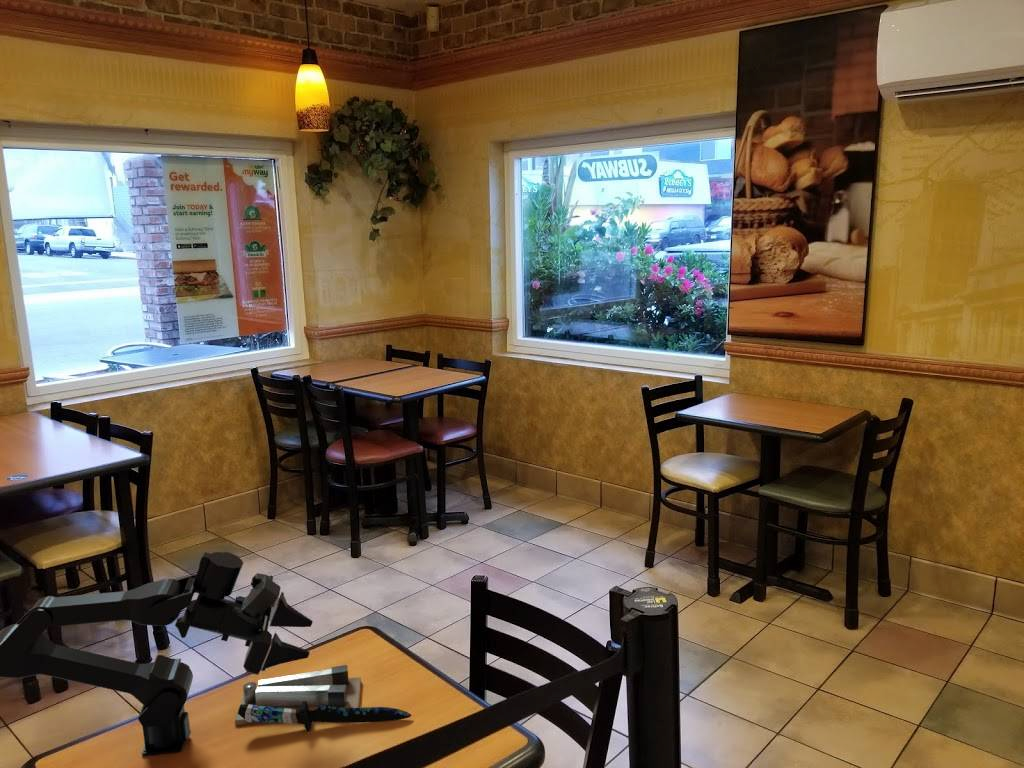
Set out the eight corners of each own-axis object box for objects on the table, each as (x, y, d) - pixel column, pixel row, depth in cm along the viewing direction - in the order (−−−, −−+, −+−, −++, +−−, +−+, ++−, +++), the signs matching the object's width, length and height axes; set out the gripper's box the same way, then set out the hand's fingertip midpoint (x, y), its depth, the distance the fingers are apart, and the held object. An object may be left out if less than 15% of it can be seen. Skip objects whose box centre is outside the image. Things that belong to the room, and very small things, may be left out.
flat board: (235, 725, 140) (234, 720, 139) (245, 692, 149) (245, 687, 149) (358, 713, 143) (358, 708, 142) (361, 681, 152) (360, 677, 152)
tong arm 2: (259, 699, 145) (258, 685, 144) (260, 692, 147) (258, 678, 146) (348, 684, 149) (347, 670, 149) (348, 678, 151) (347, 664, 151)
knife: (236, 729, 136) (236, 707, 135) (241, 718, 139) (241, 696, 138) (409, 738, 139) (410, 716, 138) (410, 726, 142) (412, 705, 141)
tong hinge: (243, 705, 143) (241, 690, 143) (245, 697, 146) (244, 682, 145) (256, 704, 144) (255, 688, 143) (258, 696, 146) (257, 681, 145)
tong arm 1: (255, 708, 142) (254, 693, 142) (259, 701, 144) (257, 686, 144) (344, 706, 143) (343, 691, 142) (347, 699, 145) (346, 684, 144)
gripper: (229, 607, 123) (324, 632, 127) (246, 550, 140) (328, 573, 145) (207, 665, 125) (300, 687, 129) (225, 601, 142) (307, 623, 147)
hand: (310, 638), depth 137 cm, fingers open, 9 cm apart
